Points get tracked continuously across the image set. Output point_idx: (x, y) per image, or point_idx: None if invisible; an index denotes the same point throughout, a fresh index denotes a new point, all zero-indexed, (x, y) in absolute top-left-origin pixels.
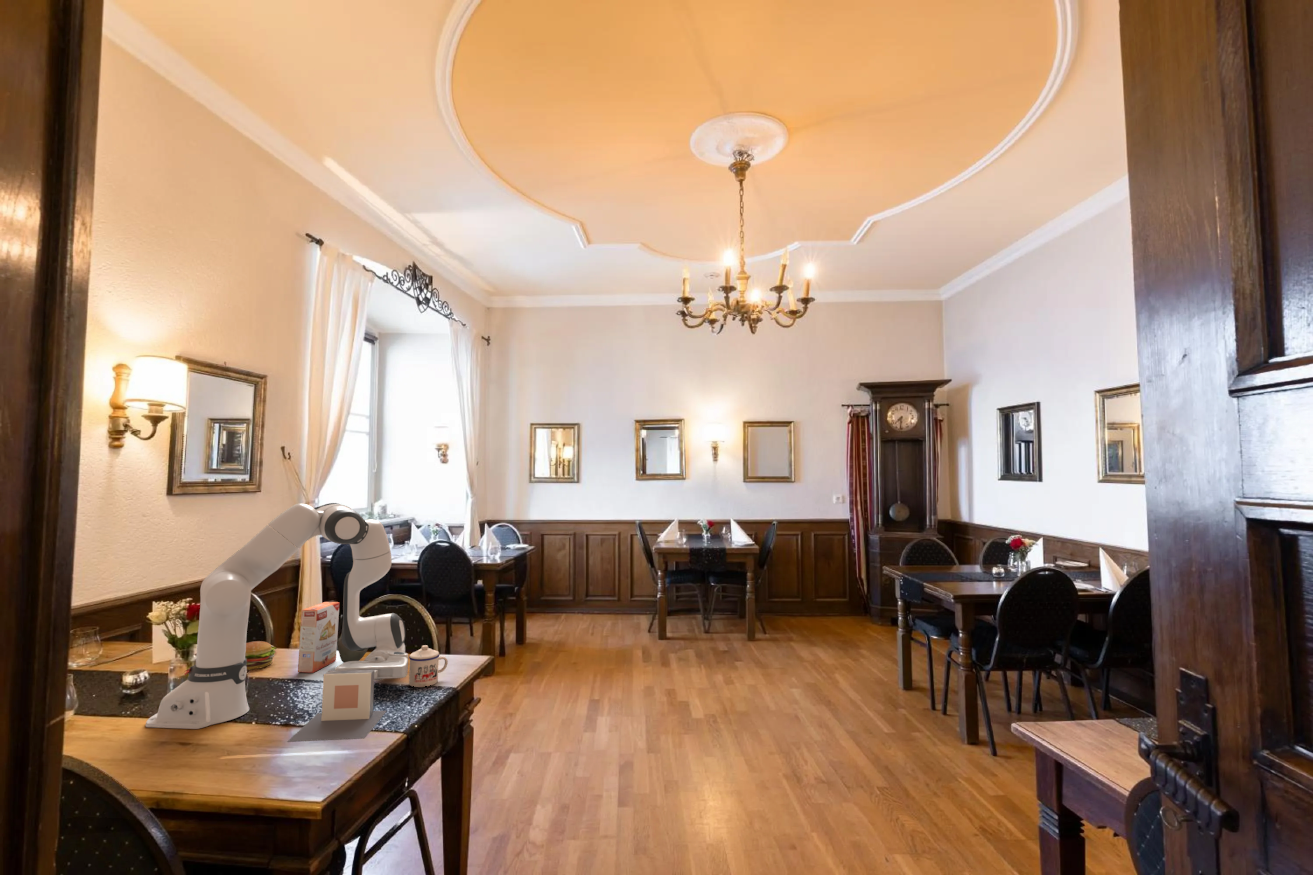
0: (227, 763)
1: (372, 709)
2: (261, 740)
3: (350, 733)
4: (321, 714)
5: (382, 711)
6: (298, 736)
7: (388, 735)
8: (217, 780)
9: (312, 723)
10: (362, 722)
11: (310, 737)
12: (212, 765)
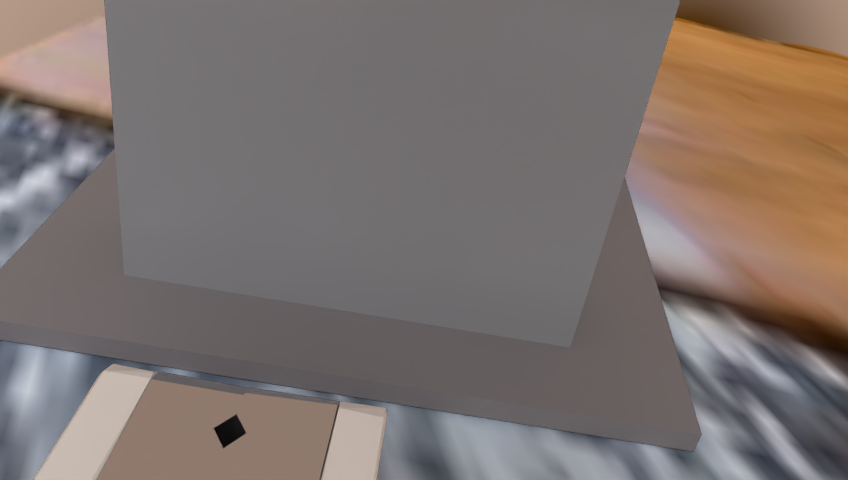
0: (744, 96)
1: (125, 223)
2: (787, 201)
3: None
4: (644, 400)
5: (11, 308)
6: None
7: (56, 76)
8: (673, 42)
9: (606, 261)
10: None
11: None
12: (791, 100)
